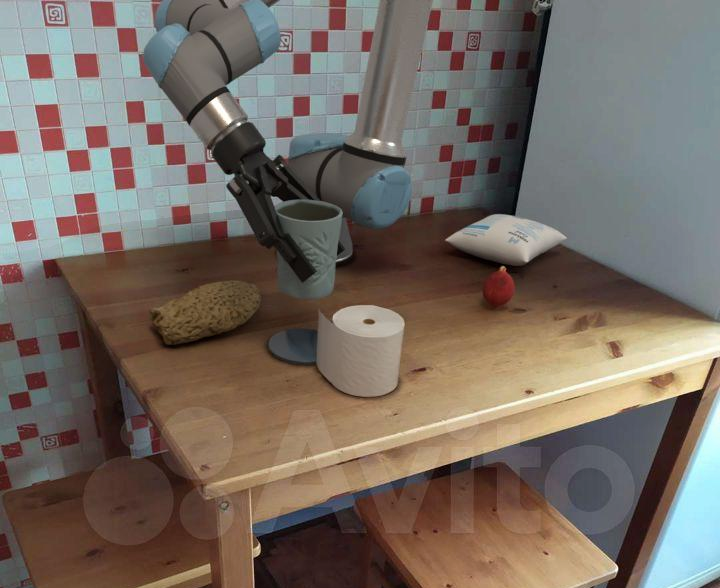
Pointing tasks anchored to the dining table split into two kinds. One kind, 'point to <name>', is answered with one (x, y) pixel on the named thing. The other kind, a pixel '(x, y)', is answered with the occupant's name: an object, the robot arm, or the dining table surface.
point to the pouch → (506, 239)
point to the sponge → (206, 311)
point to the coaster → (295, 346)
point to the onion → (498, 288)
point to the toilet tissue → (361, 349)
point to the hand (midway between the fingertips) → (324, 265)
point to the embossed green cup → (310, 245)
